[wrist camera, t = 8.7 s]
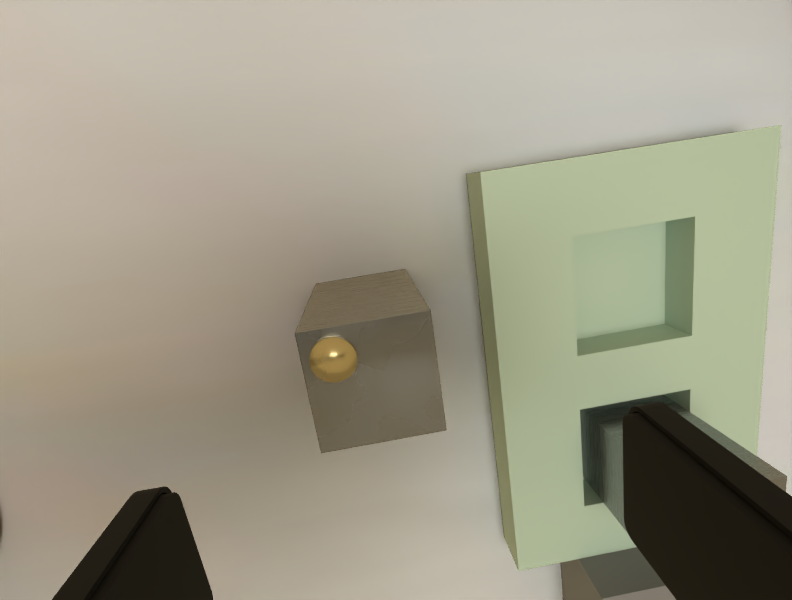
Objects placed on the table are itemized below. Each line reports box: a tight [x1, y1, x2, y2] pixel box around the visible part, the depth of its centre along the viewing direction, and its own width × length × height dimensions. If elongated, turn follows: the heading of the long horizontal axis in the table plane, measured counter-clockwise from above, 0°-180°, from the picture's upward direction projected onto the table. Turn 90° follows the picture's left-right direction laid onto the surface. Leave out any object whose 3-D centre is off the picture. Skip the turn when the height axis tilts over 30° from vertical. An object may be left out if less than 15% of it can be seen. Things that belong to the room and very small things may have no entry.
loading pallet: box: [466, 125, 781, 600], centre depth 23 cm, size 29×14×5 cm, turn 8°
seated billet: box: [580, 394, 787, 532], centre depth 21 cm, size 5×5×8 cm
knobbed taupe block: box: [295, 269, 446, 453], centre depth 19 cm, size 5×5×8 cm
